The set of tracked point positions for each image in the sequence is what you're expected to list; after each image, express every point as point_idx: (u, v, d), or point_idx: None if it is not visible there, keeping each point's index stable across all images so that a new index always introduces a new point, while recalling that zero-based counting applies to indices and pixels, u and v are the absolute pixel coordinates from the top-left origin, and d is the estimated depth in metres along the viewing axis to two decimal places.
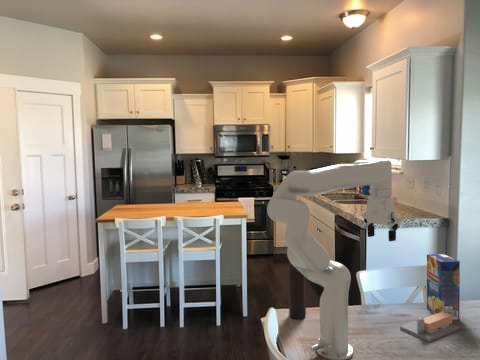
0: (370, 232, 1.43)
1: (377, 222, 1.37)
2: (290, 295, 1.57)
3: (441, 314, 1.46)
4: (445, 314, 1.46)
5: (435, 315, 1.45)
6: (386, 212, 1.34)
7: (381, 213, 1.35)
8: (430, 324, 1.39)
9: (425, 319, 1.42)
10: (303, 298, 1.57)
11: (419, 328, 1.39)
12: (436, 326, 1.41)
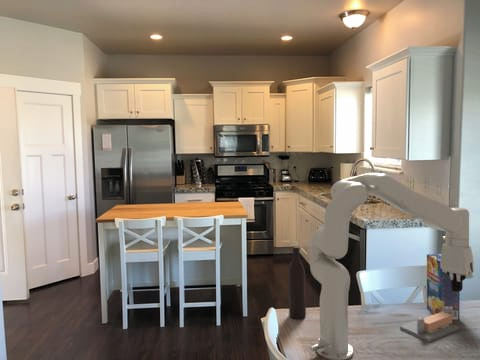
0: None
1: (454, 271, 1.35)
2: (290, 295, 1.57)
3: (441, 314, 1.46)
4: (445, 314, 1.46)
5: (435, 315, 1.45)
6: (465, 263, 1.32)
7: (459, 263, 1.33)
8: (430, 324, 1.39)
9: (425, 319, 1.42)
10: (303, 298, 1.57)
11: (419, 328, 1.39)
12: (436, 326, 1.41)
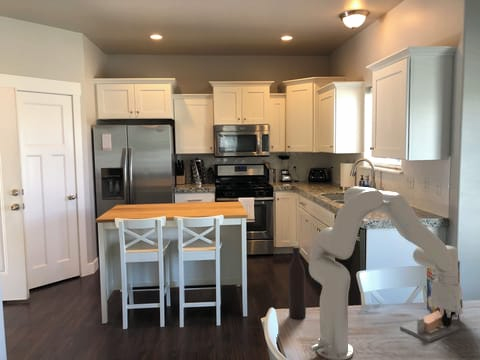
0: None
1: (445, 308, 1.39)
2: (290, 295, 1.57)
3: (438, 313, 1.47)
4: None
5: (432, 314, 1.46)
6: (456, 300, 1.36)
7: (450, 300, 1.38)
8: (430, 324, 1.39)
9: (424, 319, 1.42)
10: (303, 298, 1.57)
11: (419, 328, 1.39)
12: (435, 325, 1.41)
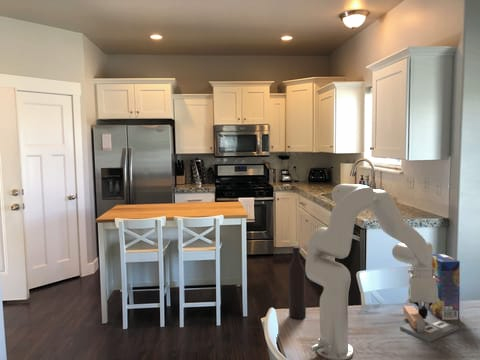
0: None
1: (426, 301, 1.46)
2: (290, 295, 1.57)
3: (409, 308, 1.52)
4: (410, 307, 1.54)
5: (409, 311, 1.50)
6: (436, 291, 1.45)
7: (431, 292, 1.45)
8: None
9: (414, 318, 1.43)
10: (303, 298, 1.57)
11: (419, 328, 1.39)
12: None
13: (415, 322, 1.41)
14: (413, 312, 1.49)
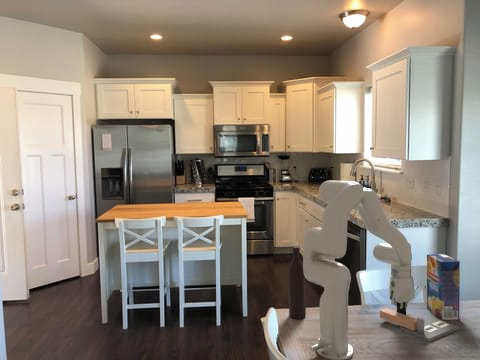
0: None
1: (408, 299, 1.48)
2: (290, 295, 1.57)
3: (388, 311, 1.50)
4: (386, 310, 1.52)
5: (393, 314, 1.47)
6: (413, 287, 1.50)
7: (411, 290, 1.49)
8: None
9: (408, 319, 1.42)
10: (303, 298, 1.57)
11: (419, 328, 1.39)
12: None
13: (414, 324, 1.40)
14: (397, 314, 1.47)
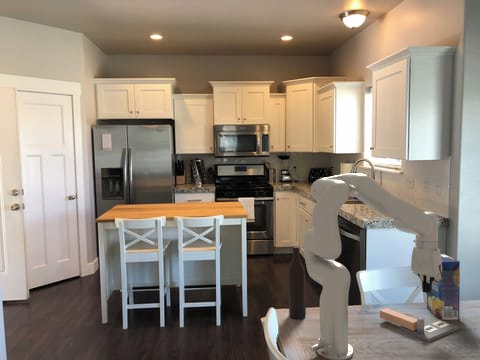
0: None
1: (424, 273, 1.40)
2: (290, 295, 1.57)
3: (388, 311, 1.50)
4: (386, 310, 1.52)
5: (393, 314, 1.47)
6: (434, 265, 1.36)
7: (428, 265, 1.38)
8: None
9: (408, 319, 1.42)
10: (303, 298, 1.57)
11: (419, 328, 1.39)
12: None
13: (414, 324, 1.40)
14: (397, 314, 1.47)
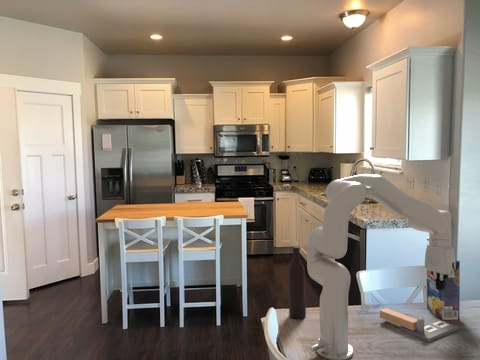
0: None
1: (437, 271, 1.42)
2: (290, 295, 1.57)
3: (388, 311, 1.50)
4: (386, 310, 1.52)
5: (393, 314, 1.47)
6: (447, 262, 1.38)
7: (442, 263, 1.40)
8: None
9: (408, 319, 1.42)
10: (303, 298, 1.57)
11: (419, 328, 1.39)
12: None
13: (414, 324, 1.40)
14: (397, 314, 1.47)
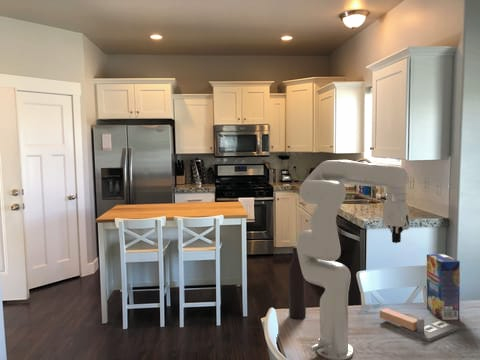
0: None
1: (393, 224, 1.50)
2: (290, 295, 1.57)
3: (388, 311, 1.50)
4: (386, 310, 1.52)
5: (393, 314, 1.47)
6: (401, 215, 1.47)
7: (396, 216, 1.49)
8: None
9: (408, 319, 1.42)
10: (303, 298, 1.57)
11: (419, 328, 1.39)
12: None
13: (414, 324, 1.40)
14: (397, 314, 1.47)
